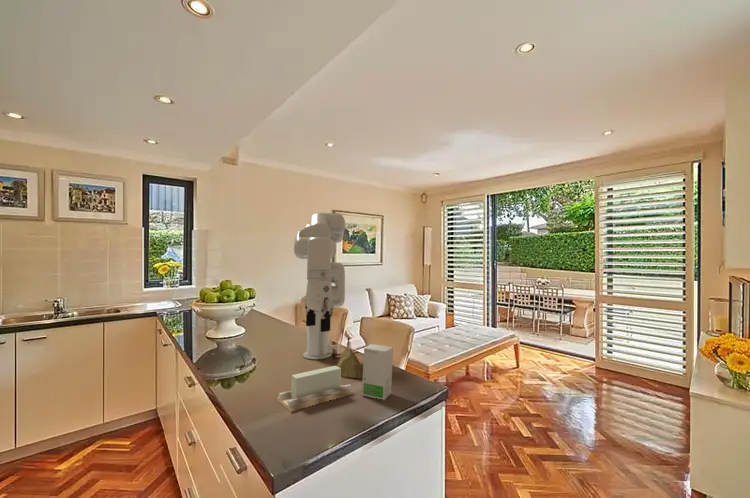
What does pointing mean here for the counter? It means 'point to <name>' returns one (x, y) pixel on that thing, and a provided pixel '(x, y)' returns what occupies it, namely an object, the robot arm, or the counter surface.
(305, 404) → the bottom track
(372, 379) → the skincare box
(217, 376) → the counter surface
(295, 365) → the counter surface
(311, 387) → the door panel
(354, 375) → the rock
